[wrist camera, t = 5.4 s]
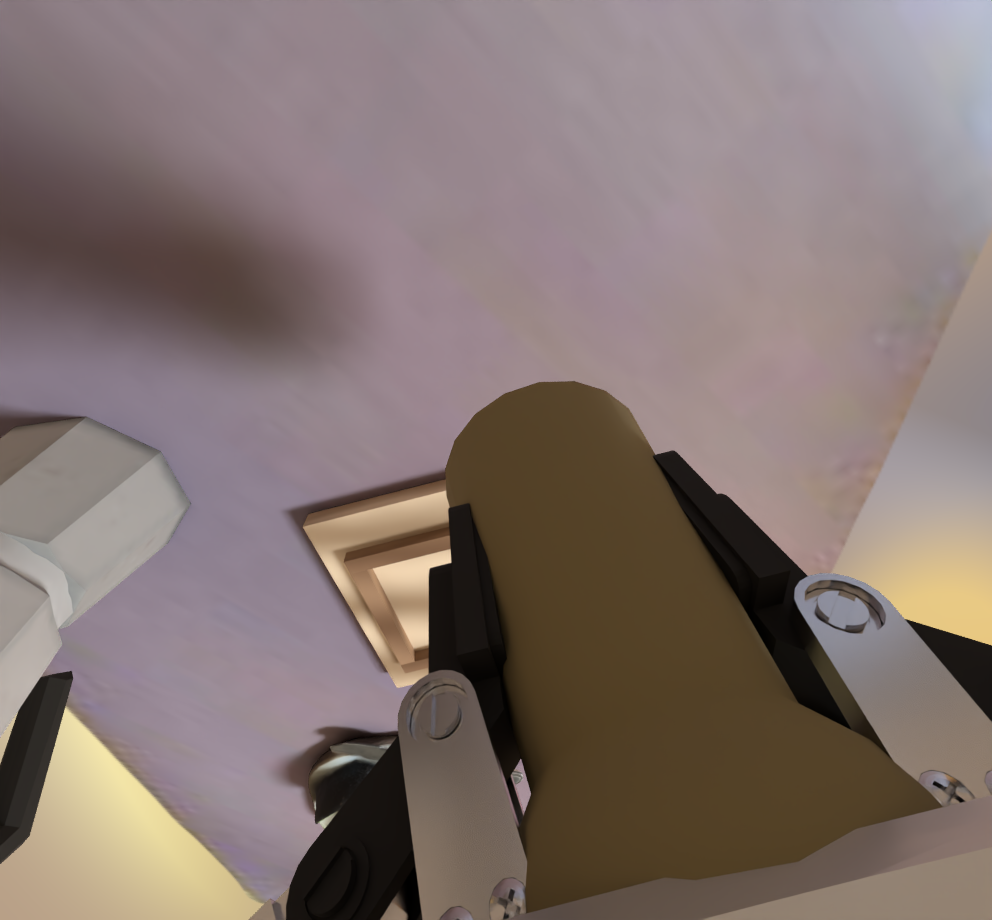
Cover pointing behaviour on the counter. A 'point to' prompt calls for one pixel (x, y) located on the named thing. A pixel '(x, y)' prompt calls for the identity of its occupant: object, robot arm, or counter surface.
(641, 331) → the counter surface
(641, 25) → the counter surface
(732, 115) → the counter surface
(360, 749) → the salad plate
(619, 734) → the cork
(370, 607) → the maple board
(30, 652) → the coffee maker
